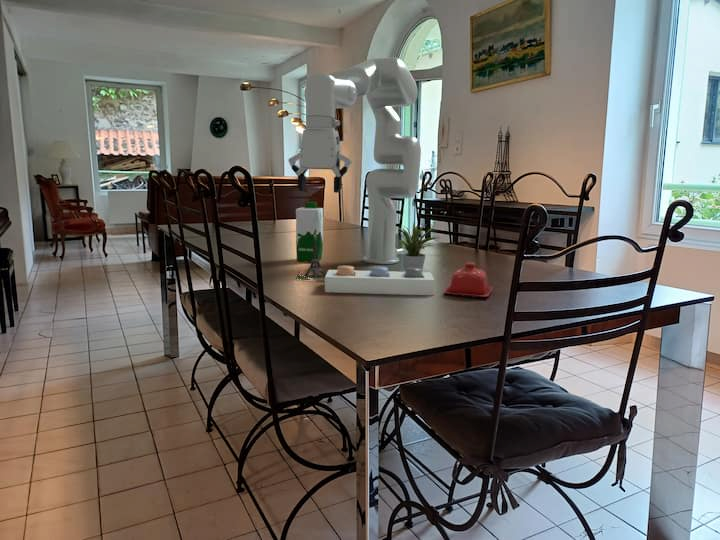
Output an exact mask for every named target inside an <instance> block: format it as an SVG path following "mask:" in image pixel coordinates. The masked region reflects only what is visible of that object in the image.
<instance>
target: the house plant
mask: <svg viewBox="0 0 720 540" xmlns="http://www.w3.org/2000/svg"><path fill="white" fill-rule="evenodd" d="M415 225H416V224H415V222H413V224H412V233H411V232H410V229H408V228H407V227H406V226H403V225H402V228H399V227H397V228H394V229H396V231H399V233H400V235H401V236H402V238H403V239H404V240H403V239H398V240H397V242H399V244H398V246H397V247H398V248H399V249H405V250H406V251H407V252H405V253H403V254H401V255H402V256H401V257H402V263H403V265H402V266H403V272H405V268H409V267H415V268H421V269H422V271H423V269H424V265H425V260H426V254H424V253H421V252H420V251H422V250H425V248H426V247H433V248H435V247H436V245H435V244H434V243H431V242H430V241H432V240H436V239H440V238H441V237H439V236H433V237H427V238H425V237H426V236H429V235H431V234H434V233H433V229H434V228H430V229H428V230H426V231H425V232H424V233H423V234H422V236H421V237H420V238H419V236H420V234H421V233H422V232H423V229H424V228H425V227H426V226H427V223H425V224H424V225H423V226H422V227H420V229H418V226H417V225H416V226H415ZM403 227H404V228H403ZM405 228H406V229H405ZM407 231H408V232H407ZM437 231H439V230H436V232H437ZM431 232H432V233H431ZM427 242H430V243H427Z"/></svg>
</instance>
